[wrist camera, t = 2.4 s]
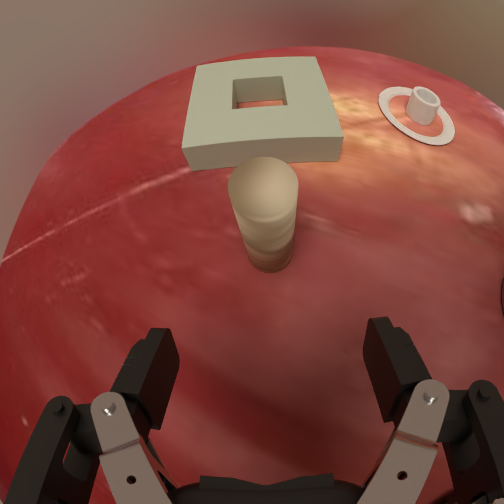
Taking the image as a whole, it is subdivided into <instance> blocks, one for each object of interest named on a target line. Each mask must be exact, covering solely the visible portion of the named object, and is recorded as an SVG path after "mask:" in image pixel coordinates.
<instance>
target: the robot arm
mask: <svg viewBox="0 0 504 504" xmlns="http://www.w3.org/2000/svg"><path fill="white" fill-rule="evenodd" d="M502 306H503V311H504V281H503V286H502ZM127 357H128V358H126V360H125V362H124V365H123V366H122V368H121V370H120V372H119V374H118V376H117V378H116V380H115V382H114V384H113V386H112V388H111V390H110V392H106V393H103V394H100V395H99V396H97V397H96V398H95V399H94V401H93V402H92V403H91V404H79V405H74V404H73V402H72V401H71V400H70V399H69V398H68V397H66V396H57V397H55V398H53V399H51V400H50V401H49V402H48V403H47V405H46V407H45V408H44V410H43V412H42V414H41V416H40V418H39V420H38V422H37V425H36V427H35V429H34V431H33V433H32V435H31V437H30V439H29V442H28V444H27V446H26V448H25V451H24V453H23V455H22V458H21V460H20V462H19V465H18V467H17V470H16V472H15V475H14V477H13V480H12V483H11V485H10V488H9V491H8V494H7V497H6V500H5V503H4V504H88V503H89V499H90V495H91V492H92V488H93V484H94V481H95V477H96V474H97V470H98V467H99V464H100V462H101V465H102V468H103V471H104V473H105V476H106V479H107V481H108V484H109V486H110V489H111V491H112V494H113V496H114V498H115V501H116V503H117V504H415V502H416V500H417V498H418V496H419V494H420V492H421V490H422V488H423V486H424V483H425V481H426V479H427V476H428V474H429V472H430V469H431V467H432V464H433V462H434V459H435V456H436V454H437V450H438V446H437V445H436V442H442V445H443V448H444V451H445V455H446V459H447V462H448V466H449V470H450V474H451V478H452V482H453V486H454V491H455V495H456V500H457V504H504V402H503V400H502V398H501V396H500V394H499V392H498V390H497V388H496V387H495V386H494V385H493V384H492V383H491V382H489V381H486V380H478V381H475V382H474V383H472V384H471V386H470V388H469V389H468V390H448V389H447V387H446V386H445V385H444V384H443V383H441V382H439V381H437V380H433V379H432V378H431V376H430V374H429V372H428V370H427V368H426V366H425V364H424V362H423V360H422V358H421V356H420V355H419V353H418V352H417V349H416V347H415V345H413V342H412V340H411V338H410V336H409V334H407V333H406V332H405V331H404V330H403V329H401V328H400V327H396V328H394V327H393V325H392V323H391V321H390V319H389V318H388V317H378V318H370V319H369V320H368V324H367V330H366V335H365V340H364V345H363V358H364V362H365V365H366V368H367V371H368V374H369V377H370V380H371V383H372V386H373V389H374V392H375V395H376V398H377V402H378V405H379V408H380V411H381V415H382V418H383V421H384V423H386V422H390V421H393V422H394V425H395V428H394V429H393V431H392V433H391V435H390V437H389V439H388V441H387V443H386V445H385V447H384V449H383V451H382V453H381V455H380V456H379V458H378V460H377V462H376V464H375V465H374V467H373V469H372V470H371V472H370V473H369V475H368V476H367V478H366V480H365V481H364V483H363V484H362V486H361V487H360V486H358V485H355V484H353V483H349V482H346V481H340V480H334V477H333V473H330V474H322V475H314V476H303V477H298V478H294V479H291V480H287V481H283V482H280V483H276V484H271V485H260V484H255V483H251V482H247V481H243V480H239V479H235V478H225V477H211V476H200V482H198V483H193V484H188V485H185V486H182V487H180V488H179V486H178V485H177V484H176V482H175V481H174V479H173V478H172V477H171V475H170V474H169V472H168V471H167V469H166V467H165V466H164V464H163V462H162V460H161V458H160V456H159V455H158V453H157V451H156V449H155V447H154V445H153V443H152V441H151V439H150V437H149V436H148V435H149V432H150V429H156V430H160V429H161V425H162V422H163V419H164V415H165V412H166V409H167V405H168V402H169V399H170V396H171V392H172V389H173V386H174V383H175V379H176V376H177V373H178V370H179V364H180V360H179V354H178V351H177V348H176V345H175V342H174V339H173V336H172V333H171V330H170V329H169V328H151V329H150V330H149V332H148V334H147V336H146V338H145V340H143V339H140V340H139V341H138V342H137V343H136V344H135V345H134V346H133V347H132V348H131V350H130V352H129V354H128V356H127ZM69 443H70V447H69V449H68V452H67V455H66V457H65V460H64V463H63V457H64V455H65V452H66V449H67V447H68V444H69Z"/></svg>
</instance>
